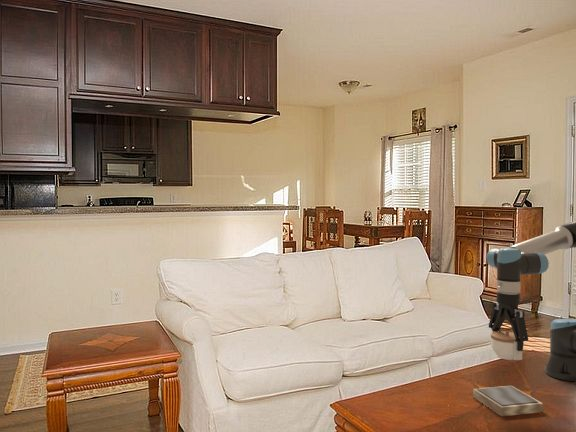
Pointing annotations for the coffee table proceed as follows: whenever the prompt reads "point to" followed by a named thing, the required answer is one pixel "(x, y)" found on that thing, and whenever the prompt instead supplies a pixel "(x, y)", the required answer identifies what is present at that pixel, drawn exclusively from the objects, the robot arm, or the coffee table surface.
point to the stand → (507, 400)
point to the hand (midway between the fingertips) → (506, 354)
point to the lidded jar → (503, 344)
